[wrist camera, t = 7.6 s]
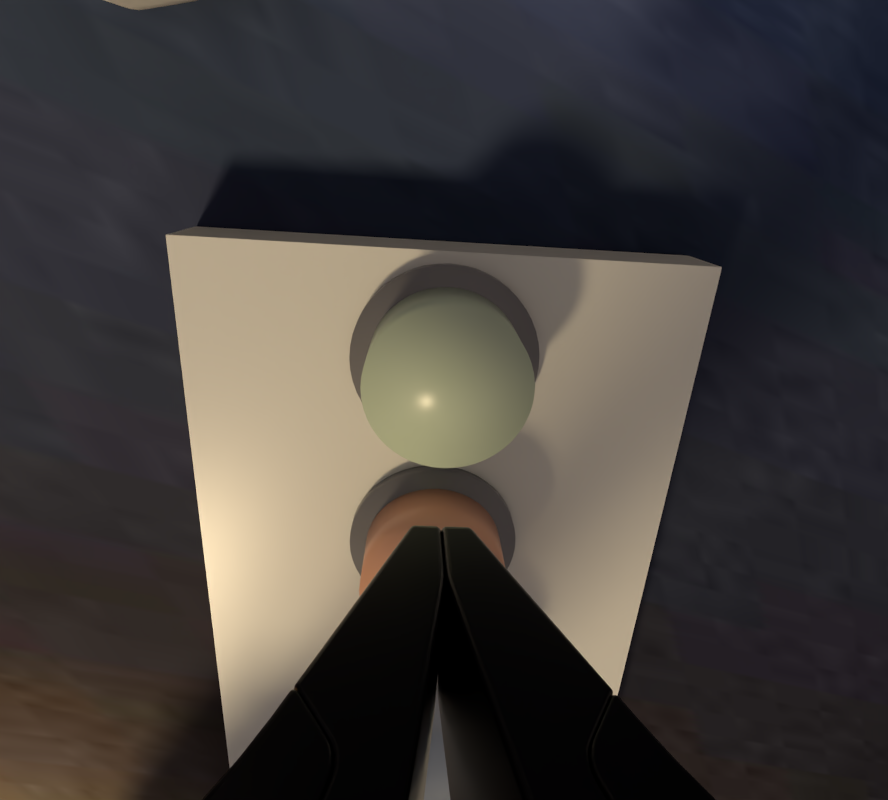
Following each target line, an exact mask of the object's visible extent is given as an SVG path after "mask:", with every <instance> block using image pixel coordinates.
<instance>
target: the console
mask: <svg viewBox="0 0 888 800" xmlns="http://www.w3.org/2000/svg"><path fill="white" fill-rule="evenodd" d="M166 242H167V250H168V258H169V267H170V275H171V283H172V292H173V300H174V308H175V317H176V325H177V333H178V342H179V350H180V358H181V367H182V375H183V383H184V392H185V400H186V408H187V417H188V425H189V433H190V442H191V450H192V458H193V467H194V475H195V483H196V492H197V500H198V509H199V517H200V525H201V534H202V542H203V550H204V559H205V567H206V575H207V584H208V592H209V600H210V609H211V617H212V625H213V634H214V642H215V650H216V659H217V667H218V675H219V684H220V692H221V700H222V709H223V717H224V725H225V734H226V742H227V750H228V759H229V767H231V766H232V765H233V764H234V763H235V762H236V761H237V759H238V758H239V757H240V756H241V755H242V753H243V752H244V751H245V750H246V748H247V747H248V746H249V744H250V743H251V742H252V741H253V739H254V738H255V737H256V735H257V734H258V733H259V732H260V730H261V729H262V728H263V727H264V725H265V724H266V723H267V721H268V720H269V719H270V718H271V716H272V715H273V714H274V712H275V711H276V709H277V708H278V707H279V705H280V704H281V703H282V701H283V700H284V698H285V697H286V696H287V694H288V693H289V692H290V691H291V690H293V689H294V686H295V684H296V683H297V681H298V680H299V679H300V677H301V676H302V674H303V673H304V672H305V670H306V669H307V668H308V666H309V665H310V664H311V662H312V661H313V659H314V658H315V657H316V655H317V654H318V653H319V651H320V650H321V649H322V647H323V646H324V644H325V643H326V642H327V640H328V639H329V638H330V636H331V635H332V634H333V632H334V631H335V630H336V628H337V627H338V625H339V624H340V623H341V621H342V620H343V619H344V617H345V616H346V615H347V613H348V612H349V610H350V609H351V608H352V606H353V605H354V604H355V602H356V601H357V600H358V598H359V597H360V596H359V587H360V578H361V572H362V565H363V559H364V552H365V545H366V539H367V534H368V530H369V528H370V525H371V523H372V521H373V520H374V518H375V517H376V515H377V514H378V513H379V512H380V511H381V510H382V509H383V508H384V507H385V506H386V505H387V504H388V503H390V502H391V501H393V500H394V499H396V498H398V497H400V496H402V495H405V494H407V493H410V492H414V491H418V490H424V489H444V490H450V491H454V492H457V493H460V494H463V495H465V496H467V497H470V498H471V499H473V500H474V501H476V502H478V503H479V504H480V505H481V506H482V507H484V508H485V510H486V511H487V512H488V513H489V514H490V516H491V517H492V519H493V520H494V523H495V525H496V527H497V530H498V534H499V539H500V544H501V548H502V553H503V558H504V563H505V568H506V569H507V570H508V571H509V572H510V573H511V575H512V576H513V577H514V578H515V579H516V580H517V581H518V583H519V584H520V585H521V586H522V587H523V588H524V589H525V591H526V592H527V593H528V594H529V595H530V596H531V597H532V599H533V600H534V601H535V602H536V603H537V604H538V605H539V607H540V608H541V609H542V610H543V611H544V612H545V613H546V615H547V616H548V617H549V618H550V619H551V620H552V621H553V623H554V624H555V625H556V626H557V627H558V628H559V629H560V631H561V632H562V633H563V634H564V635H565V636H566V637H567V639H568V640H569V641H570V642H571V643H572V644H573V645H574V647H575V648H576V649H577V650H578V651H579V652H580V653H581V655H582V656H583V657H584V658H585V659H586V660H587V661H588V663H589V664H590V665H591V666H592V667H593V668H594V669H595V671H596V672H597V673H598V674H599V675H600V676H601V677H602V679H603V680H604V681H605V682H606V683H607V684H608V686H609V687H610V688H611V689H612V691H613V695H617V696H618V692H619V688H620V684H621V680H622V675H623V671H624V667H625V663H626V659H627V655H628V651H629V647H630V643H631V638H632V634H633V630H634V626H635V622H636V618H637V614H638V610H639V606H640V602H641V597H642V593H643V589H644V585H645V581H646V577H647V573H648V569H649V565H650V561H651V556H652V552H653V548H654V544H655V540H656V536H657V532H658V528H659V524H660V520H661V515H662V511H663V507H664V503H665V499H666V495H667V491H668V487H669V483H670V478H671V474H672V470H673V466H674V462H675V458H676V454H677V450H678V446H679V442H680V437H681V433H682V429H683V425H684V421H685V417H686V413H687V409H688V405H689V401H690V396H691V392H692V388H693V384H694V380H695V376H696V372H697V368H698V364H699V359H700V355H701V351H702V347H703V343H704V339H705V335H706V331H707V327H708V323H709V318H710V314H711V310H712V306H713V302H714V298H715V294H716V290H717V286H718V282H719V277H720V273H721V269H722V267H720V266H717V265H714V264H711V263H709V262H706V261H703V260H700V259H697V258H694V257H691V256H687V255H670V254H653V253H636V252H619V251H602V250H585V249H569V248H552V247H535V246H518V245H501V244H484V243H467V242H451V241H434V240H417V239H400V238H383V237H366V236H349V235H333V234H316V233H299V232H282V231H265V230H248V229H231V228H214V227H198V226H195V227H192V228H188V229H184V230H181V231H177V232H174V233H170V234H166ZM437 287H453V288H461V289H465V290H469V291H472V292H474V293H477V294H479V295H481V296H483V297H485V298H487V299H488V300H490V301H491V302H492V303H494V304H495V305H496V306H497V307H498V308H499V309H500V310H501V311H502V312H503V313H504V314H505V315H506V316H507V318H508V319H509V320H510V322H511V324H512V326H513V327H514V329H515V331H516V333H517V335H518V336H519V338H520V340H521V342H522V344H523V345H524V347H525V349H526V351H527V353H528V355H529V358H530V360H531V363H532V367H533V371H534V378H535V394H534V400H533V405H532V408H531V411H530V414H529V416H528V418H527V420H526V422H525V424H524V426H523V428H522V429H521V430H520V432H519V433H518V435H517V436H516V437H515V438H514V439H513V440H512V441H511V442H510V443H509V444H508V445H507V446H506V447H505V448H504V449H502V450H501V451H499V452H498V453H496V454H495V455H493V456H491V457H490V458H488V459H486V460H483V461H481V462H478V463H476V464H472V465H468V466H464V467H457V468H436V467H429V466H424V465H420V464H418V463H415V462H412V461H410V460H407V459H405V458H403V457H401V456H400V455H398V454H397V453H395V452H394V451H392V450H391V449H390V448H389V447H388V446H386V445H385V444H384V443H383V442H382V441H381V440H380V438H379V437H378V436H377V435H376V433H375V432H374V431H373V429H372V428H371V426H370V424H369V422H368V420H367V418H366V415H365V412H364V409H363V405H362V400H361V390H360V386H361V376H362V371H363V367H364V363H365V360H366V356H367V353H368V350H369V346H370V343H371V340H372V337H373V334H374V332H375V330H376V328H377V326H378V324H379V322H380V321H381V320H382V318H383V317H384V316H385V314H386V313H387V312H388V311H389V310H390V309H391V308H392V307H393V306H395V305H396V304H397V303H398V302H400V301H401V300H403V299H404V298H406V297H408V296H410V295H412V294H414V293H417V292H419V291H423V290H426V289H430V288H437Z"/></svg>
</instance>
